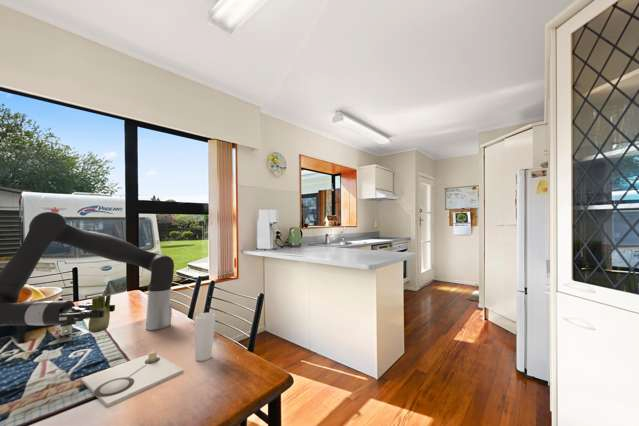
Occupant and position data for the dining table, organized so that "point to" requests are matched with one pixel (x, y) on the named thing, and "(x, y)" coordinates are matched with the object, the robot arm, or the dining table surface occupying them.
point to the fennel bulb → (103, 322)
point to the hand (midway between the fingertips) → (109, 310)
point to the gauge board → (130, 378)
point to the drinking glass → (204, 335)
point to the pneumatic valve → (66, 328)
